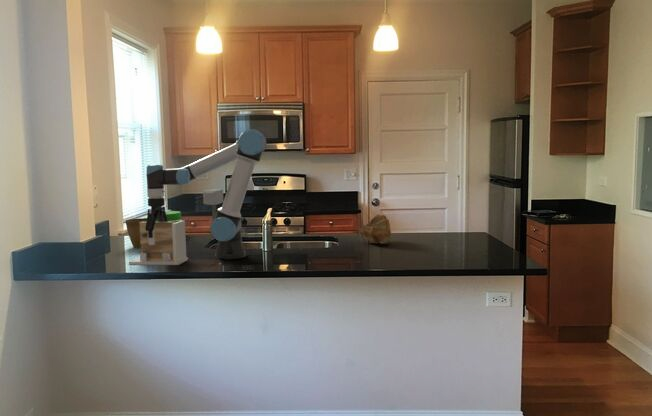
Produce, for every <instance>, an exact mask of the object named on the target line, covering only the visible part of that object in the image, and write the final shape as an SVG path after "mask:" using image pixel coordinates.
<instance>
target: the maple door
mask: <svg viewBox="0 0 652 416" xmlns="http://www.w3.org/2000/svg"><path fill="white" fill-rule="evenodd" d="M173 223H175V222H155V226H154V229H153V231H154V233H155V245H149V240H148V231H146V229H145V228H146V222H140V243H141V248H140V253H141V252H148V255H149V260H163V255H162V253H164V252H171V260H173V236H172V224H173Z"/></svg>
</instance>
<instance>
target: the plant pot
mask: <svg viewBox="0 0 652 416" xmlns="http://www.w3.org/2000/svg"><path fill="white" fill-rule="evenodd" d="M140 222H147V217H143V218H131V219H126V220H125V224H126V225H125V226H126V229H127V230H126V231H127V234H128V237H129V240H130V242H131V245H132V247H133V249H141V243H140Z"/></svg>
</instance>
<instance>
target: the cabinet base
mask: <svg viewBox="0 0 652 416" xmlns="http://www.w3.org/2000/svg"><path fill="white" fill-rule="evenodd" d="M181 220H182V219H181ZM172 236H173V260H171V252H164V253H162V255H163V260H149V255H148V252H141V251H140V252H139V257H137V258H135V259H133V260H130V261H129V262H128V264H129V265H138V266H139V265H141V266H142V265H144V266H145V265H146V266H147V265H150V266H151V265H152V266H153V265H158V266H171V265H172V266H180V265H181V264H183V263H185V262H187V261H188V260H189V257H187V239H186V236H187V235H186V221H185V219H184V220H182V221H179V222H176V223H173V224H172Z"/></svg>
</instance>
